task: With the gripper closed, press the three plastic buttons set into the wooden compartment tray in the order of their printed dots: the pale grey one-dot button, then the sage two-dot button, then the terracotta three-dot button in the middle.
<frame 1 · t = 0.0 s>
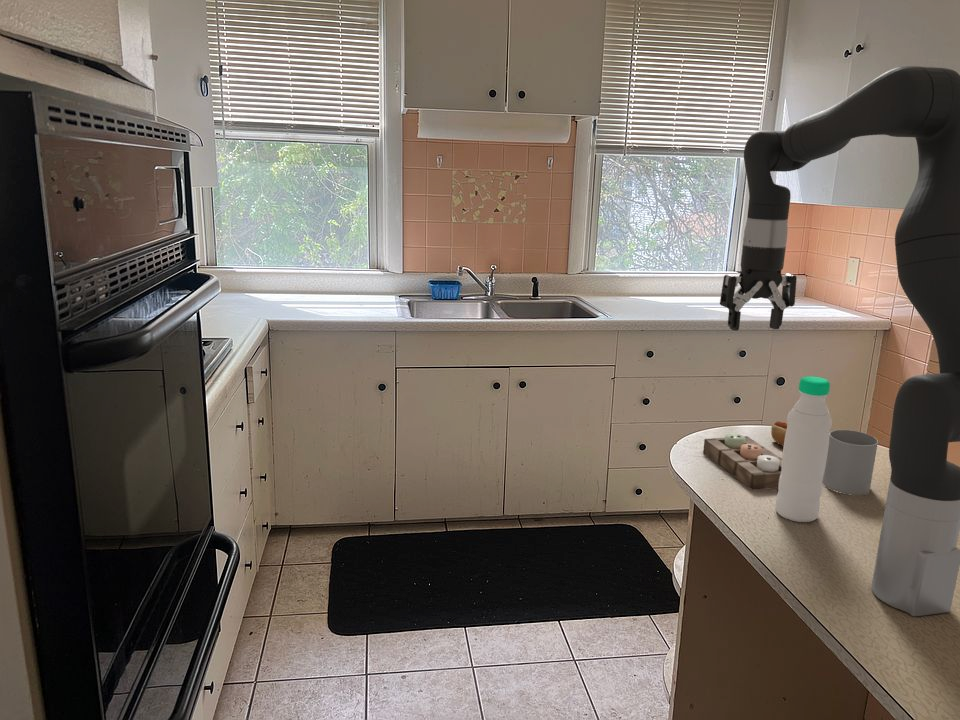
hand: (754, 329, 142), 29 cm above the kitchen counter, tool pointing down, fingers open, 8 cm apart
water bottle: (796, 515, 132), on the kitchen counter
wooden compartment tray: (748, 468, 151), on the kitchen counter
cup: (845, 487, 144), on the kitchen counter
button one: (767, 465, 145), point 3 cm above the kitchen counter, slide at 0.0 cm
button three: (750, 454, 150), point 3 cm above the kitchen counter, slide at 0.0 cm
button two: (734, 443, 156), point 3 cm above the kitchen counter, slide at 0.0 cm
food: (797, 451, 161), on the kitchen counter
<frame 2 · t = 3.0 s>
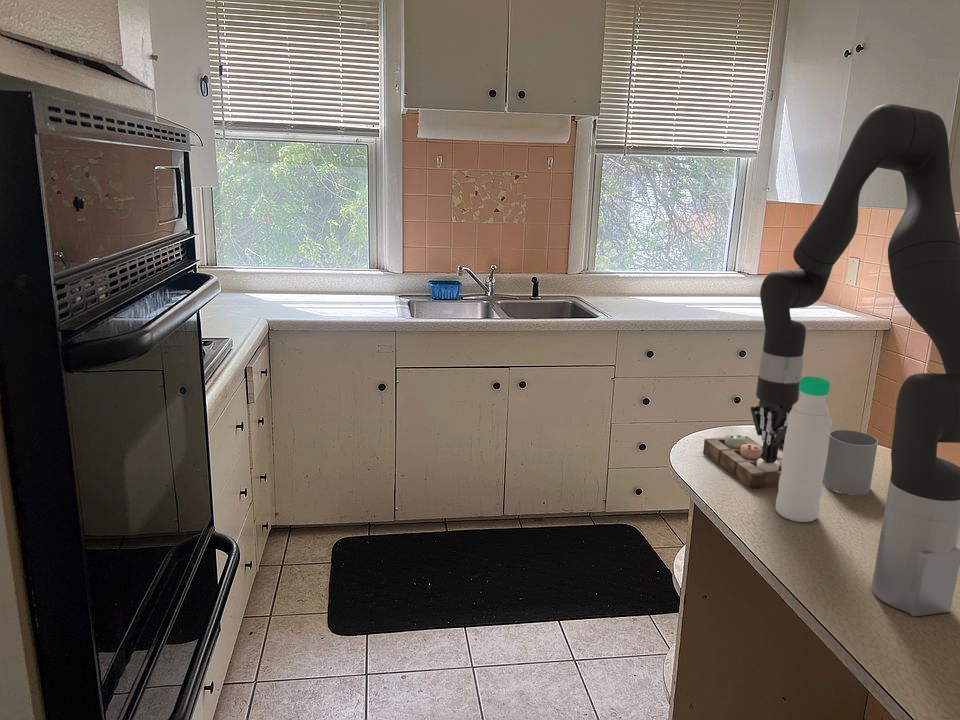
hand: (768, 461, 145), 4 cm above the kitchen counter, tool pointing down, fingers closed
button one: (767, 468, 145), point 2 cm above the kitchen counter, slide at 0.6 cm, touching gripper
everything else where it was.
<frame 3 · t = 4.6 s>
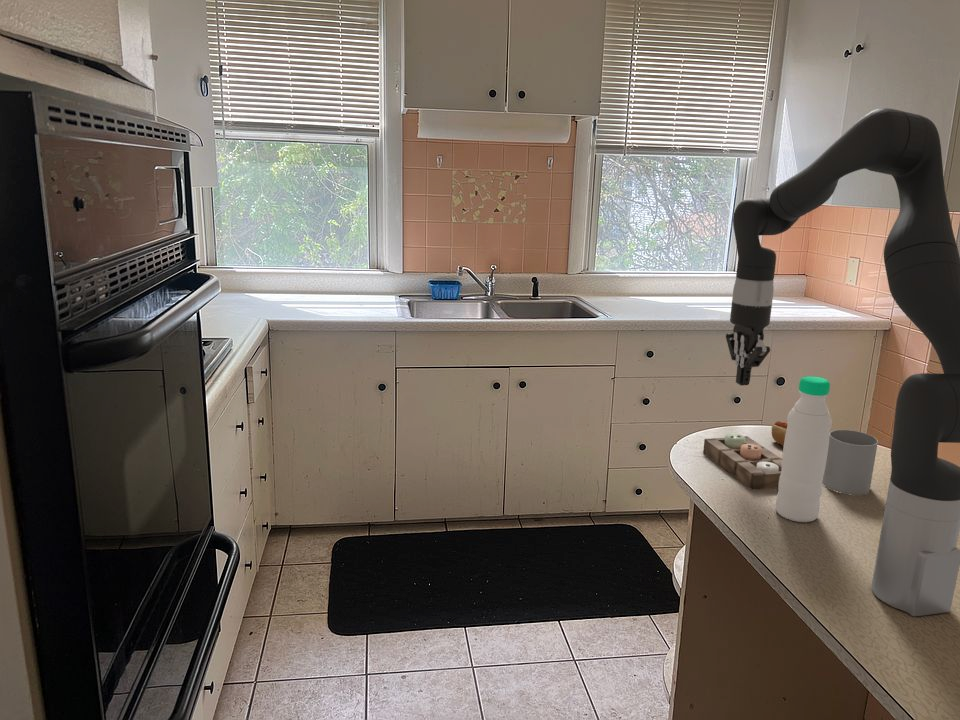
hand: (742, 384, 152), 16 cm above the kitchen counter, tool pointing down, fingers closed
button one: (766, 472, 145), point 2 cm above the kitchen counter, slide at 1.4 cm
everything else where it was.
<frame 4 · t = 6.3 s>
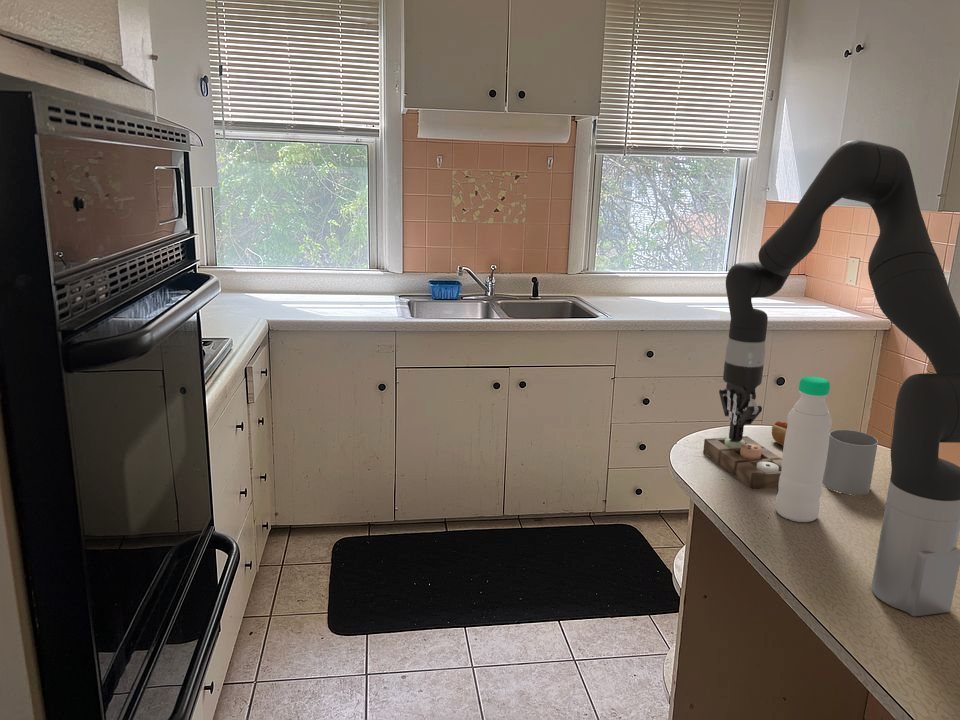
hand: (735, 439, 156), 4 cm above the kitchen counter, tool pointing down, fingers closed
button two: (734, 447, 156), point 2 cm above the kitchen counter, slide at 0.9 cm, touching gripper
everything else where it was.
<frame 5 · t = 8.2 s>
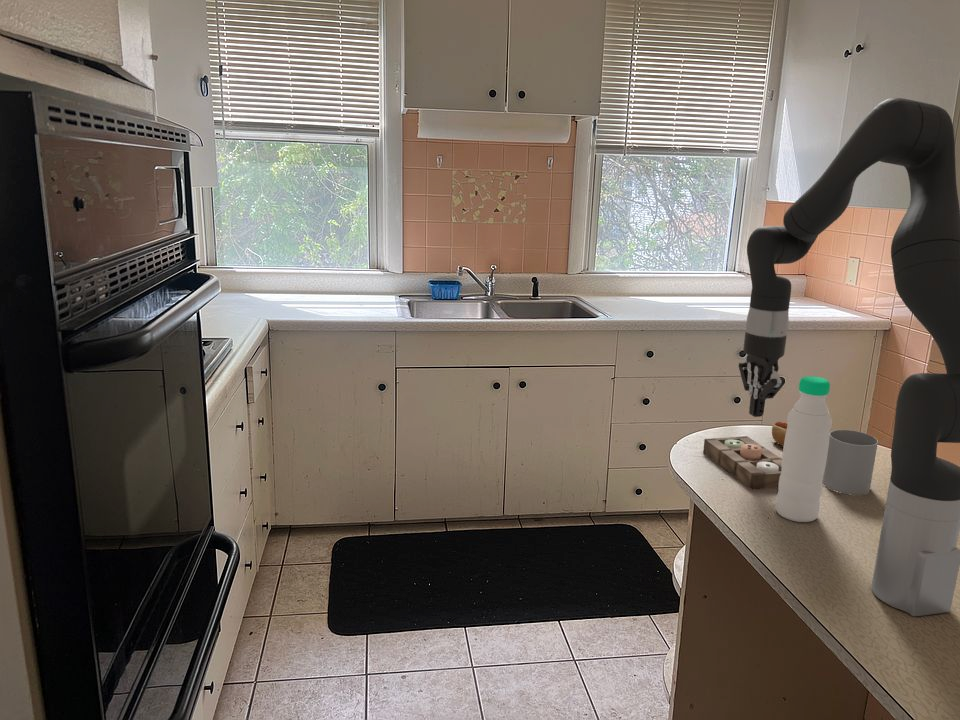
hand: (755, 415, 148), 11 cm above the kitchen counter, tool pointing down, fingers closed
button two: (734, 449, 156), point 2 cm above the kitchen counter, slide at 1.4 cm
everything else where it was.
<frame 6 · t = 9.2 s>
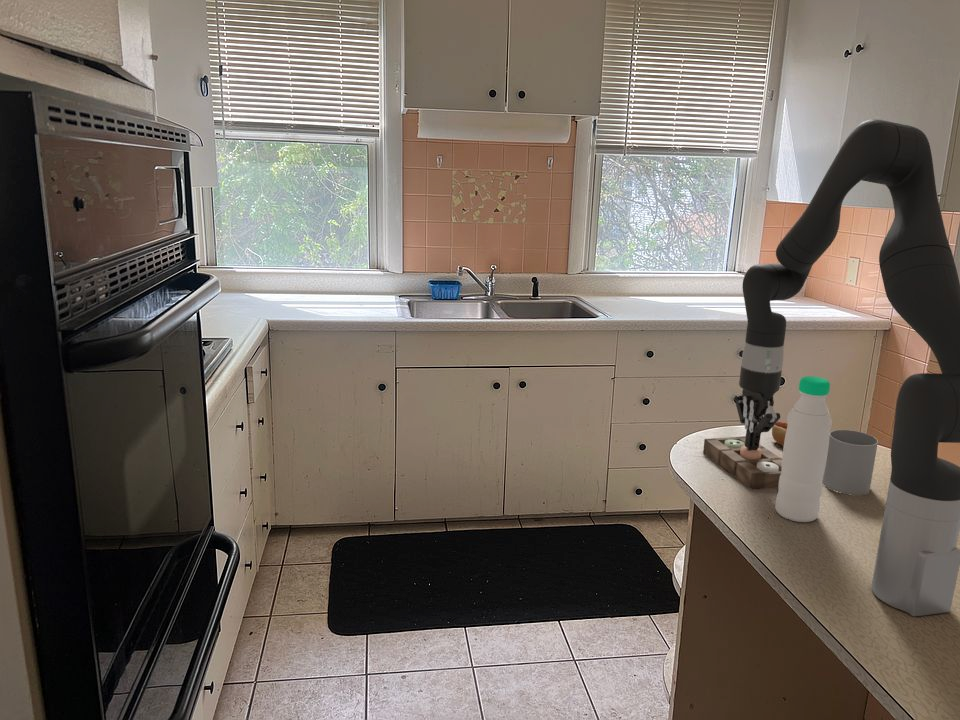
hand: (751, 448, 150), 4 cm above the kitchen counter, tool pointing down, fingers closed
button three: (750, 455, 150), point 3 cm above the kitchen counter, slide at 0.3 cm, touching gripper
everything else where it was.
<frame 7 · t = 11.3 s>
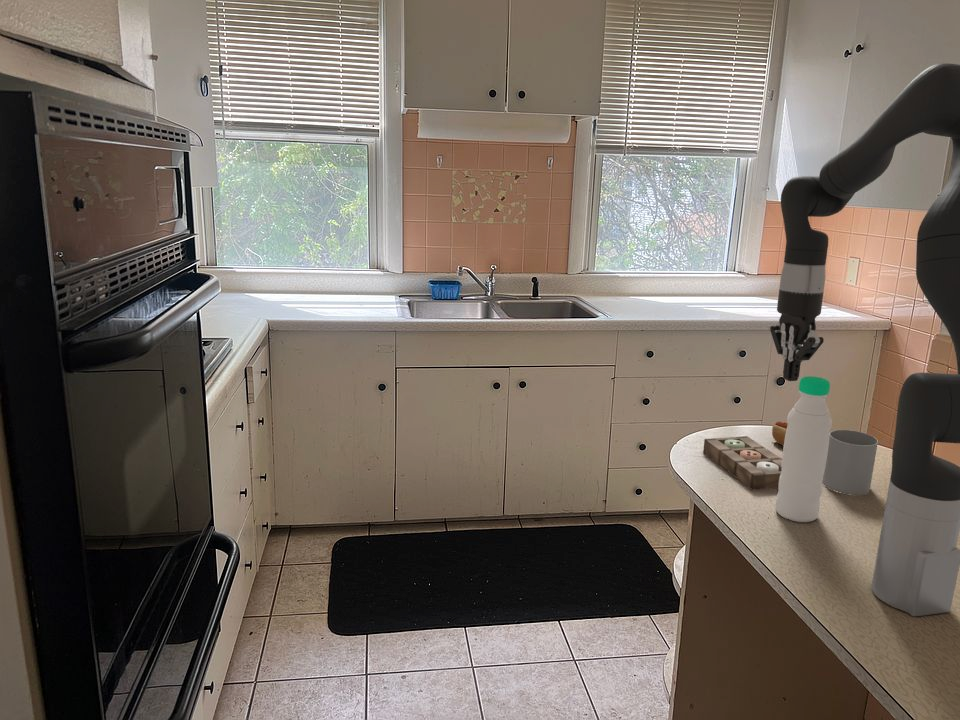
hand: (790, 379, 140), 20 cm above the kitchen counter, tool pointing down, fingers closed
button three: (749, 460, 151), point 2 cm above the kitchen counter, slide at 1.4 cm
everything else where it was.
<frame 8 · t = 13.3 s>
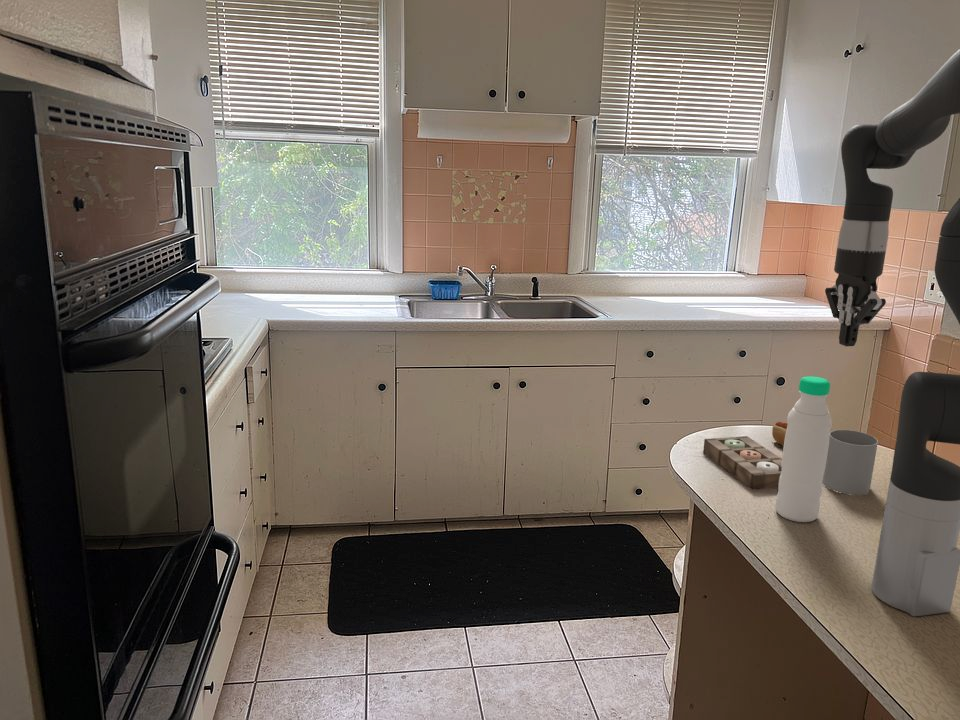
hand: (846, 345, 132), 29 cm above the kitchen counter, tool pointing down, fingers closed
nothing on the kitchen counter moved.
at the end: button one slide at 1.4 cm; button two slide at 1.4 cm; button three slide at 1.4 cm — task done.
